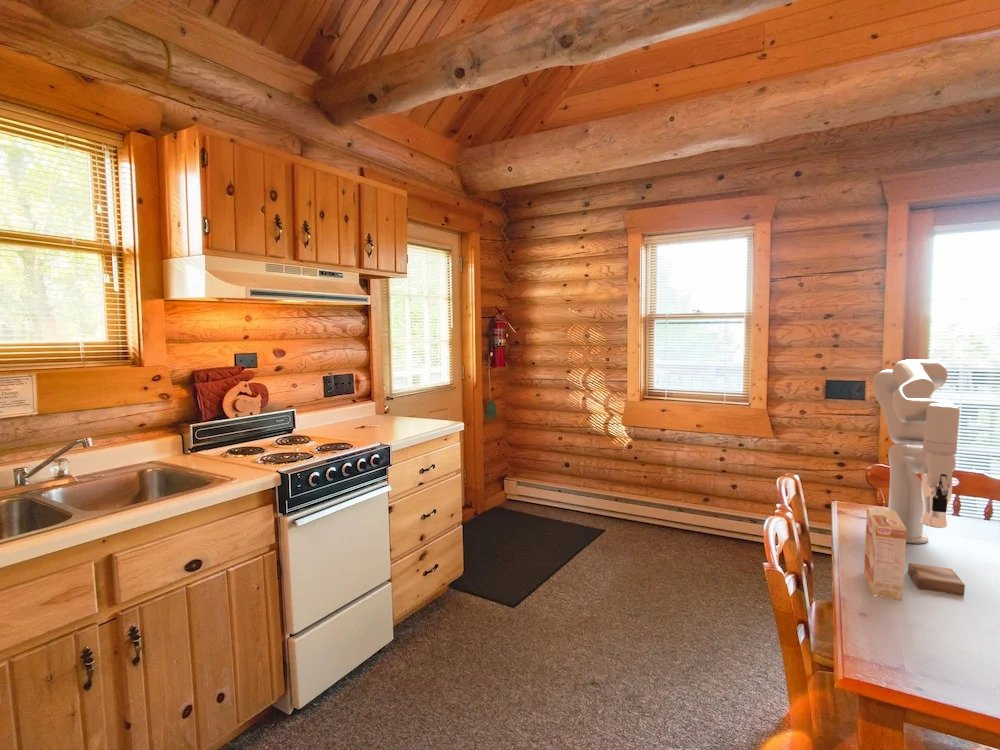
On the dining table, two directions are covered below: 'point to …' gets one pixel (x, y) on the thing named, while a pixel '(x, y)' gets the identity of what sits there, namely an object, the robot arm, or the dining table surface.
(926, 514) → the beer glass
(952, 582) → the oak board
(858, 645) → the dining table surface
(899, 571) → the coffeecake box
